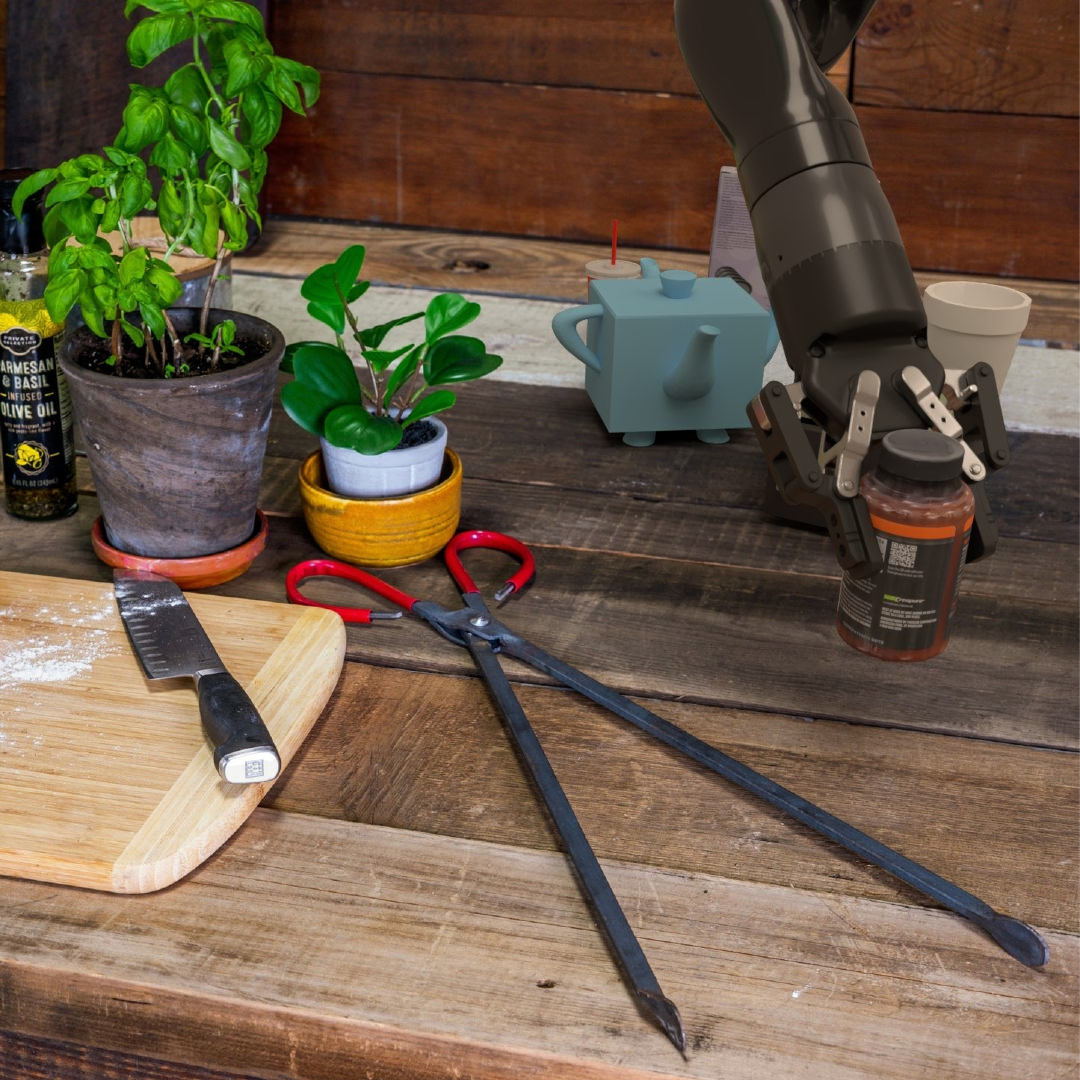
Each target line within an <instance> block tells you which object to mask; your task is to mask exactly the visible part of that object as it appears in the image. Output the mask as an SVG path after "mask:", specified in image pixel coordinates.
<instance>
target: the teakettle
mask: <svg viewBox="0 0 1080 1080" xmlns="http://www.w3.org/2000/svg"><path fill="white" fill-rule="evenodd" d="M639 266H641V278H638V279H605V280H590V282H589V297H588V296H587V304H584V305H578V306H573V307H569V308H565V309H563V310H561V311H559V312H557V313H556V314H555V315H554V316H553V318H552V320H551V330H552V332H553V334H554V336H555V338H556V340H557V341H558V343H559V344H560V345H561V346H562V347H563V348H564V349H565V350H566V351H567V352H568V353H569V354H570V355H572V356H573V357H574V358H575V359H577V360H578V361H579V362H581V363H582V364H584V365H585V367H584V389H585V391H586V393H587V395H588V397H589V398H590V400H591V401H592V403H593V406H594V407H595V410H596V411H597V413H598V415H599V416H600V418H601V420H602V422H603V424H604V426H605V427H606V429H607V431H608V433H624V435H623V437H622V442H623V443H625V444H627V445H628V446H632V447H648V446H651V445H653V444H654V443H655V440H656V434H657V432H665V431H688V430H689V431H691V430H693V431H694V430H695V431H696V436H697V438H698V440H699V441H702V442H704V443H707V444H723V443H727V442H729V440H730V436H729V435H728V432H727V431H726V429H745V428H747V429H748V428H753V427H752V425H751V423H750V420H749V418H748V416H747V413H746V406H747V404H748V403H749V402H750V401H751V400H752V399H753V398H754V397H755V396H756V395H757V394H758V393H759V392H760V391H761V389H762V388H763V385H764V384H763V383H764V374H765V368H766V366H767V365H768V364H769V363H770V362H771V360H772V359H773V357H774V355H775V353H776V351H777V349H778V347H779V344H780V343H781V340H780V336H779V333H778V329H777V326H776V322H775V319H774V315H773V312H772V308H770V310H769V312H767V311H766V310H765V309H764V308H763V307H762V306H761V305H760V304H759V303H758V302H756V301H755V300H754V299H753V298H752V297H751V296H750V295H749V294H748V293H747V292H746V291H745V290H744V289H743V288H741V287H740V286H739V285H738V284H737V283H736V282H735V281H734V280H732V278H731V277H722V278H708V277H698V275H697V274H696V273H694V272H692V271H689V270H685V269H667V270H664V271H661V269H660V266H659V264H658V262H657V261H656V260H655V259H654V258H651V257H645V256H644V257H641V258H640V260H639ZM586 320H587V321H586ZM583 321H586V322H587V325H586V343H585V342H584V341H583V339H582V338H581V336H580V334H579V332H578V330H577V326H578V324H579V323H580V322H583Z"/></svg>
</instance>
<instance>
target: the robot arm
mask: <svg viewBox="0 0 1080 1080" xmlns="http://www.w3.org/2000/svg"><path fill="white" fill-rule="evenodd" d="M878 2H879V0H673V27H674V33H675V38H676V42H677V45H678V49H679V52H680V55H681V57H682V60H683V63H684V65H685V67H686V69H687V71H688V73H689V76H690V78H691V80H692V81H693V84H694V86H695V87H696V89H697V92H698V93H699V96H701V99H702V101H703V103H704V105H705V106H706V109H707V111H708V113H709V114H710V116H711V119H712V120H713V122H714V123H715V125H716V127H717V128H718V130H719V131H720V133H721V135H722V137H723V139H724V140H725V142H726V143H727V146H728V147H729V150H730V151H731V154H732V157H733V159H734V163H735V164H734V165H735V167H736V168H737V173H738V178H739V181H740V185H741V188H742V192H743V195H744V199H745V202H746V205H747V209H748V212H749V216H750V219H751V223H752V227H753V233H754V241H755V249H756V255H757V259H758V263H759V267H760V270H761V275H762V279H763V282H764V284H765V288H766V291H767V295H768V298H769V302H770V305H771V308H772V312H773V315H774V319H775V322H776V326H777V329H778V333H779V336H780V343H781V345H782V350H783V353H784V357H785V360H786V363H787V366H788V368H789V369H790V371H792V372H793V373H794V374H793V375H794V376H793V382H792V383H788V384H785V385H784V384H783V383H782V382H781V381H778V380H770V381H768V382H767V383H766V384H765V385H764V386H762V389H761V391H760V392H759V393H758V394H757V395H756V396H755V397H754V398H753V399H752V400H751V401H750V402H749V403H748V404H747V406H746V413H747V416H748V418H749V420H750V423H751V425H752V427H751V428H752V431H753V432H754V434H755V437H756V439H757V441H758V445H759V446H760V449H761V451H762V454H763V456H764V458H765V461H766V463H767V467H768V466H769V468H770V470H771V473H772V475H773V477H774V480H775V482H776V485H777V487H778V489H779V492H780V494H781V496H782V499H783V500H784V501H785V502H786V503H787V504H789V505H797V504H799V503H803V504H808V505H812V506H815V507H817V508H818V509H819V510H820V511H822V513H823V514H824V516H825V519H826V523H827V526H828V528H827V530H828V533H829V536H830V540H831V543H832V547H833V550H834V554H835V558H836V561H837V563H838V564H839V566H840V567H841V569H842V571H843V570H844V571H845V570H848V571H849V574H850V577H851V578H852V579H853V580H855V581H856V580H862V579H868V578H870V577H872V576H873V575H875V574H877V573H879V572H880V571H882V569H883V566H884V562H883V557H882V554H881V551H880V547H879V544H878V541H877V537H876V534H875V530H874V527H873V524H872V520H871V517H870V514H869V510H868V507H867V504H866V500H865V498H858V499H857V497H856V494H857V493H858V491H859V487H860V480H861V473H862V466H863V461H864V458H865V457H866V455H867V453H868V452H870V451H873V450H875V449H881V445H882V440H883V438H884V437H885V436H886V435H887V434H888V433H891V432H893V431H897V430H904V429H921V430H928V429H929V428H930V429H931V430H932V431H935V432H939V433H942V434H945V435H948V436H950V437H952V438H954V439H956V440H957V441H958V442H960V443H961V444H962V445H963V446H964V449H965V454H964V460H963V465H962V473H961V474H960V475H959V476H960V479H961V480H962V481H963V482H964V483H966V485H967V486H968V487H969V488H970V489H971V491H972V493H973V495H974V499H975V511H974V517H973V522H972V527H971V533H970V539H969V543H968V549H967V554H966V559H965V564H964V565H971V564H977V563H980V562H983V561H984V560H986V559H988V558H990V557H992V556H994V554H995V553H996V550H997V543H999V530H998V526H997V523H996V522H995V518H994V515H993V511H992V508H991V505H990V502H989V499H988V496H987V492H986V489H985V480H986V479H987V478H988V477H989V476H991V475H992V474H994V473H995V472H997V471H999V470H1000V469H1003V468H1005V467H1006V466H1007V465H1009V464H1010V463H1011V461H1012V455H1011V450H1010V445H1009V440H1008V439H1009V438H1008V435H1007V431H1006V426H1005V420H1004V414H1003V410H1002V406H1001V399H1000V396H999V395H998V390H997V385H996V380H995V375H994V371H993V369H992V367H991V366H990V365H989V364H988V363H986V362H978V363H976V364H975V365H974V366H972V367H971V368H969V369H950V368H944V367H943V366H942V364H941V363H940V361H939V360H938V359H937V358H936V357H935V356H934V355H933V353H932V352H931V350H930V348H929V346H928V341H927V329H928V319H927V315H926V312H925V309H924V306H923V299H922V297H921V294H920V291H919V288H918V285H917V282H916V281H917V280H916V278H915V276H914V272H913V269H912V266H911V264H910V260H909V257H908V254H907V250H906V247H905V245H904V244H905V243H904V241H903V239H902V235H901V232H900V229H899V226H898V223H897V220H896V217H895V214H894V211H893V209H892V207H891V204H890V202H889V200H888V197H887V196H886V194H885V192H884V191H883V189H882V186H881V183H880V184H879V182H878V180H879V179H878V177H877V175H876V171H875V169H874V166H873V163H872V159H871V157H870V154H869V150H868V147H867V144H866V141H865V139H864V135H863V132H862V128H861V127H860V123H859V120H858V118H857V117H858V116H857V115H856V113H855V111H854V109H853V107H852V105H851V104H850V102H849V100H848V98H847V97H846V95H845V94H844V93H843V92H842V91H841V90H840V89H839V88H838V86H836V85H835V84H834V83H833V82H832V81H831V79H829V78H828V77H827V73H829V71H830V70H831V69H832V68H834V66H835V65H836V64H837V63H838V62H839V61H840V59H841V58H842V57H843V56H844V54H845V53H846V52H847V51H848V48H850V46H851V44H852V43H853V41H854V39H856V36H857V35H858V34H859V32H860V30H861V28H862V27H863V26H864V24H865V22H866V21H867V19H868V17H869V16H870V14H871V12H872V11H873V9H874V7H876V4H877V3H878ZM941 393H942V394H943V395H944V396H945V397H946V399H947V403H946V405H945V406H946V407H945V406H944V405H943V403H942V402H941V401H940V400H939V399H940V396H941ZM947 409H948V410H950V411H951V410H953V413H954V417H953V416H952V415H951V413H950V412H949V411H948V410H947ZM801 410H802V411H803V412H805V413H806V414H807V415H808V416H809V417H810V418H811V419H812V420H813V421H814V422H815V423H816V424H817V425H818V426H819V427H820V428H822V436H821V442H820V448H819V454H818V461H817V459H816V457H815V454H814V452H813V450H812V448H811V445H810V443H809V441H808V438H807V436H806V434H805V431H804V429H803V427H802V424H801V422H800V419H801V416H802V412H801Z"/></svg>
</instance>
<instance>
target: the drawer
mask: <svg viewBox="0 0 1080 1080" xmlns="http://www.w3.org/2000/svg"><path fill="white" fill-rule="evenodd" d="M800 422H801V424H802V427H803V429H804V431H805V434H806V436H807V438H808V441H809V443H810V445H811V448H812V450H813V452H814V454H815V457H816V459H817V461H818V454H819V448H820V442H821V436H822V428H820V427H819V426H818V425H817V424H816V423H815V422H814V421H813V420H812V419H809V418H804V417H801V419H800ZM880 452H881V449H875V450H873V451H870V452H868V453H867V455H866V457H865V458H864V461H863V466H862V473H861V478H862V476H863V475H865V474H866V473H867V472H868V471H870V470H873V469H874V468H875V467H876V466H877V465H878V464H879V460H878V459H879V455H880ZM767 472H768V473H767ZM767 472H766V473H767V474H766V480H765V481H766V482H765V489H764V497H765V498H763V507H762V513H763V514H767V515H771V516H776V517H778V518H779V517H780V518H783V519H787V520H792V521H794V522H795V521H796V522H800V523H803V524H809V525H811V526H812V525H813V526H817V527H820V528H824V529H828V526H827V523H826V519H825V516H824V514H823V513H822V511H820V510H819V509H818V508H817V507H815V506H812V505H808V504H803V503H799V504H797V505H789V504H787V503H786V502H785V501H784V500H783V499H782V496H781V494H780V492H779V489H778V487H777V485H776V482H775V480H774V477H773V475H772V473H771V470H770V468H769V466H768V465H767Z"/></svg>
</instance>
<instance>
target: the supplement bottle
mask: <svg viewBox="0 0 1080 1080" xmlns="http://www.w3.org/2000/svg"><path fill="white" fill-rule="evenodd" d="M964 454H965V449H964V446H963V445H962V444H961V443H960V442H958V441H957V440H956V439H954V438H952V437H950V436H948V435H945V434H942V433H939V432H935V431H930V430H921V429H904V430H897V431H893V432H891V433H888V434H887V435H886V436H885V437H884V438H883V440H882V445H881V452H880V455H879V459H878V460H879V464H878V465H877V466H876V467H875V468H874V469H873V470H870V471H868V472H867V473H866V474H865V475H863V476H862V478H861V480H860V487H859V491H858V493H857V494H856V497H857V499H858V498H865V500H866V504H867V507H868V510H869V514H870V517H871V520H872V524H873V527H874V530H875V534H876V537H877V541H878V544H879V547H880V551H881V554H882V557H883V562H884V566H883V569H882V571H880V572H879V573H877V574H875V575H873V576H872V577H870V578H868V579H862V580H856V581H855V580H853V579H852V578H851V577H850V574H849V571H848V570H845V571H844V570H843V569H842V575H841V582H840V589H839V594H838V602H837V610H836V619H835V628H836V631H837V633H838V636H839V637H840V638H841V640H843V642H844V643H845V644H846V645H847V646H849V647H850V648H851V649H853V650H854V651H856V652H857V653H858V654H860V655H863V656H867V657H870V658H873V659H875V660H880V661H883V662H889V663H897V664H910V663H920V662H925V661H928V660H930V659H934V658H936V657H938V656H939V655H940V654H942V653H943V652H944V651H945V650H946V648H947V647H948V645H949V644H948V643H949V641H950V638H951V633H952V630H953V625H954V620H955V615H956V610H957V604H958V598H959V594H960V588H961V584H962V578H963V574H964V569H965V565H966V564H965V559H966V554H967V549H968V543H969V539H970V533H971V527H972V522H973V517H974V511H975V499H974V495H973V493H972V491H971V489H970V488H969V487H968V486H967V485H966V483H964V482H963V481H962V480H961V479H960V476H959V475H960V474H961V473H962V465H963V460H964Z"/></svg>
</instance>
